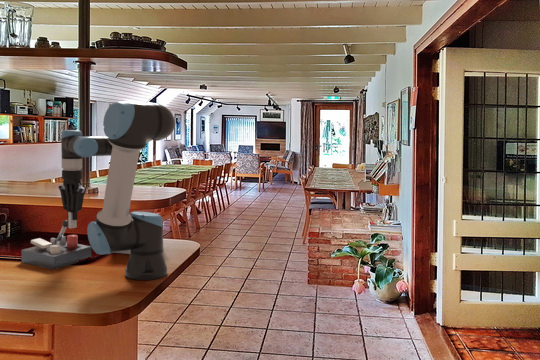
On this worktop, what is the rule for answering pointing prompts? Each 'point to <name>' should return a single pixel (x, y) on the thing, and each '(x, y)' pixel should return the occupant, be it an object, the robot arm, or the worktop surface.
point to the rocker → (41, 243)
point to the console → (55, 255)
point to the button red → (72, 241)
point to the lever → (63, 229)
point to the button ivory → (55, 249)
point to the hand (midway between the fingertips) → (72, 227)
